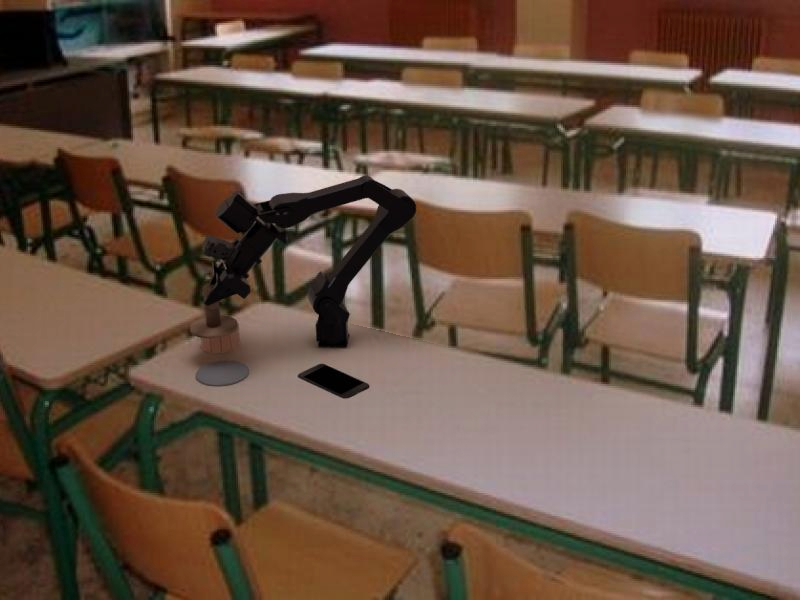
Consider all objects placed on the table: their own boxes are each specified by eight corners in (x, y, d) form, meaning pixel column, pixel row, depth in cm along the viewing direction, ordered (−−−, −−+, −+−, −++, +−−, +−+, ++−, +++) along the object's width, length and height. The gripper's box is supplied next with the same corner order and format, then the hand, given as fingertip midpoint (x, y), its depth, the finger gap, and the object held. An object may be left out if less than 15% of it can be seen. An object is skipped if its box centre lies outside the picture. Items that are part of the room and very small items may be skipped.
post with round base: (246, 321, 207) (242, 281, 203) (223, 340, 198) (218, 298, 194) (205, 316, 210) (201, 275, 206) (181, 334, 201) (176, 293, 197)
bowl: (243, 336, 217) (241, 318, 215) (235, 353, 209) (234, 334, 207) (206, 336, 217) (204, 318, 215) (197, 352, 209) (195, 334, 207)
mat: (253, 362, 205) (253, 360, 204) (243, 386, 194) (243, 384, 194) (202, 361, 205) (202, 360, 205) (190, 385, 195) (189, 384, 195)
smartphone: (345, 401, 189) (345, 397, 189) (295, 377, 198) (295, 373, 198) (372, 388, 194) (372, 384, 194) (322, 366, 203) (321, 362, 203)
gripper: (217, 209, 204) (170, 264, 206) (229, 237, 188) (177, 296, 189) (257, 240, 209) (211, 293, 211) (271, 269, 193) (221, 327, 194)
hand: (204, 301), depth 201 cm, fingers closed on post with round base, 3 cm apart
